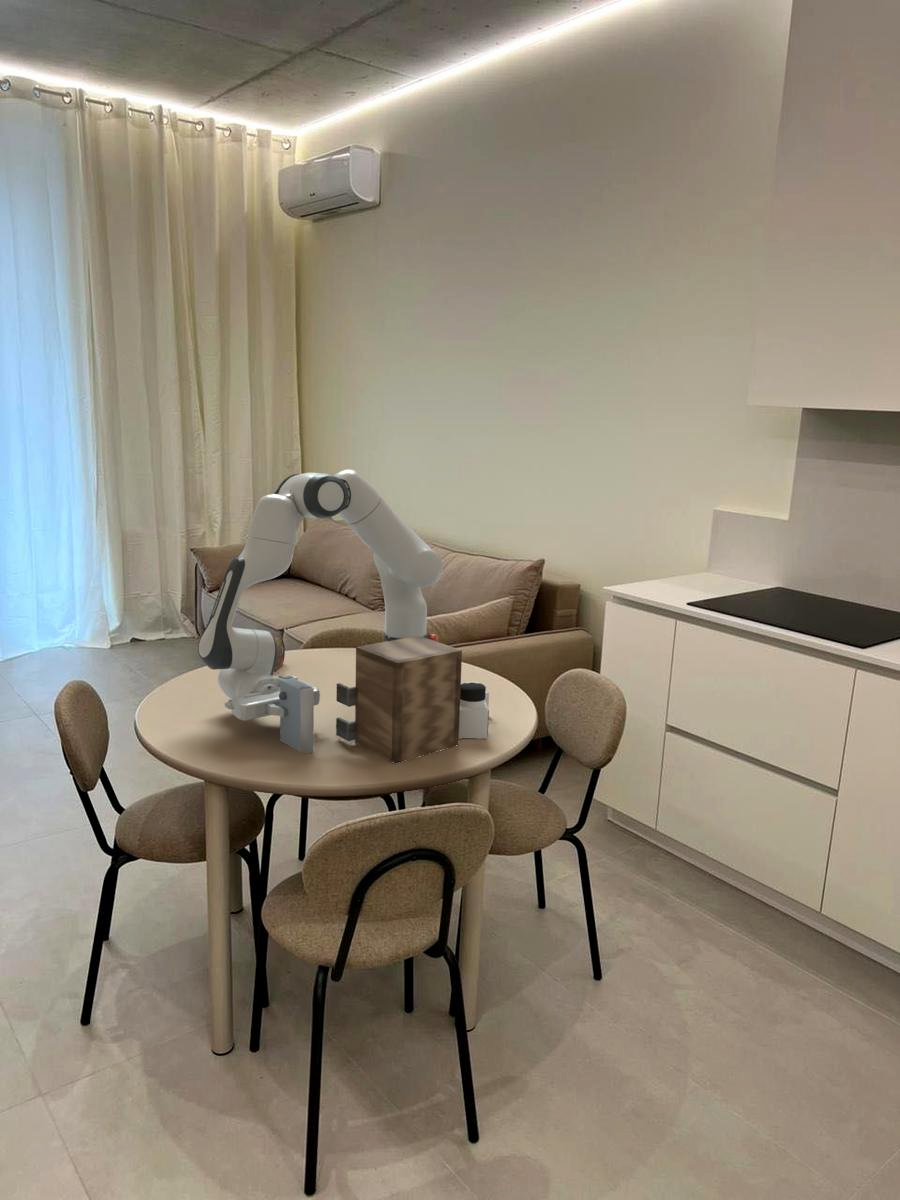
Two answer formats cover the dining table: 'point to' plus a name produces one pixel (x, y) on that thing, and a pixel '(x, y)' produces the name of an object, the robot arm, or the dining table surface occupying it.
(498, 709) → the dining table surface
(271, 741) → the dining table surface
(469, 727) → the medicine bottle
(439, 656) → the cabinet
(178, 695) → the dining table surface
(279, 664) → the tin
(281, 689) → the door
